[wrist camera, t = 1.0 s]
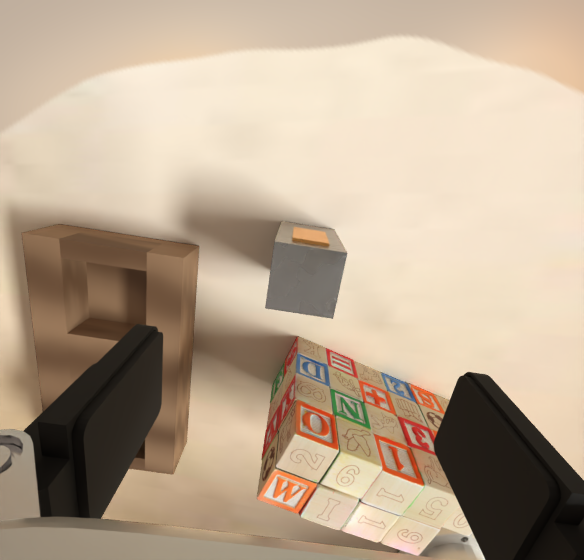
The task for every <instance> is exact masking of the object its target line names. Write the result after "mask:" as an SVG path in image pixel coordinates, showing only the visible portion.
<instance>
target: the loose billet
mask: <svg viewBox="0 0 584 560" xmlns="http://www.w3.org/2000/svg"><path fill="white" fill-rule="evenodd" d="M346 257H347V251H346V250H345V248H344V246H343V244H342V243H341V241H340V239H339V237H338V235H337V234H336V232H335V230H334V229H328V228H322V227H316V226H309V225H303V224H297V223H291V222H284V221H281V224H280V227H279V230H278V233H277V236H276V239H275V242H274V249H273V256H272V264H271V271H270V278H269V285H268V292H267V299H266V306H265V308H267V309H273V310H280V311H286V312H293V313H300V314H306V315H313V316H319V317H326V318H332V319H333V316H334V311H335V307H336V302H337V298H338V293H339V289H340V284H341V279H342V275H343V270H344V266H345V261H346Z"/></svg>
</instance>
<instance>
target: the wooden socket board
mask: <svg viewBox="0 0 584 560" xmlns="http://www.w3.org/2000/svg"><path fill="white" fill-rule="evenodd" d="M22 240H23V248H24V257H25V265H26V273H27V282H28V290H29V299H30V307H31V315H32V324H33V332H34V341H35V349H36V357H37V366H38V374H39V383H40V391H41V399H42V408H43V412H44V411H45V410H46V409H47V408H48V407H49V406H50V405H51V404H52V403H53V402H54V401H55V400H56V399H57V398H58V397H59V396H60V395H61V394H62V393H63V392H64V391H65V390H66V389H67V388H68V387H69V386H70V385H71V384H72V383H73V382H74V381H75V380H76V379H78V378H79V377H80V376H81V375H82V374H83V373H84V372H85V371H86V370H87V369H88V368H89V367H90V366H91V365H93V364H95V363H97V362H98V361H99V360H100V359H101V358H102V357H103V356H104V355H105V354H106V353H107V352H108V351H109V350H110V349H111V348H112V347H113V346H114V345H115V344H116V343H117V342H118V341H119V340H121V339H122V338H123V337H124V336H125V335H126V334H127V333H128V332H129V331H130V330H131V329H132V328H133V327H134V326H135V325H136V324H142V325H149V326H156V327H157V329H158V332H162V333H163V371H162V405H161V409H160V412H159V415H158V417H157V419H156V420H155V422H154V424H153V426H152V427H151V429H150V431H149V433H148V435H147V436H146V438H145V440H144V442H143V444H142V445H141V447H140V449H139V451H138V453H137V454H136V456H135V458H134V460H133V462H132V463H131V465H130V467H129V469H136V470H144V471H151V472H158V473H166V474H174V471H175V469H176V467H177V464H178V462H179V459H180V457H181V455H182V452H183V450H184V447H185V445H186V442H187V431H188V415H189V399H190V383H191V367H192V352H193V336H194V320H195V304H196V288H197V272H198V257H199V246H196V245H190V244H183V243H177V242H171V241H164V240H158V239H151V238H145V237H139V236H132V235H126V234H120V233H113V232H107V231H100V230H94V229H88V228H81V227H75V226H69V225H62V224H58V225H53V226H49V227H45V228H41V229H36V230H32V231H28V232H23V233H22Z"/></svg>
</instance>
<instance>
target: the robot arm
mask: <svg viewBox="0 0 584 560" xmlns="http://www.w3.org/2000/svg"><path fill="white" fill-rule="evenodd" d="M162 371H163V333H162V332H158V329H157V327H156V326H149V325H142V324H136V325H135V326H134V327H133V328H132V329H131V330H130V331H129V332H128V333H127V334H126V335H125V336H124V337H123V338H122V339H121V340H119V341H118V342H117V343H116V344H115V345H114V346H113V347H112V348H111V349H110V350H109V351H108V352H107V353H106V354H105V355H104V356H103V357H102V358H101V359H100V360H99V361H98V362H97V363H95V364H93V365H91V366H90V367H89V368H88V369H87V370H86V371H85V372H84V373H83V374H82V375H81V376H80V377H79V378H78V379H76V380H75V381H74V382H73V383H72V384H71V385H70V386H69V387H68V388H67V389H66V390H65V391H64V392H63V393H62V394H61V395H60V396H59V397H58V398H57V399H56V400H55V401H54V402H53V403H52V404H51V405H50V406H49V407H48V408H47V409H46V410H45V411H44V412H43V413H42V414H40V415H39V416H38V417H37V418H36V419H35V420H34V421H33V422H32V423H31V424H30V425H29V426H28V427H27V428H26V429H25V430H24V431H19V430H14V429H9V430H0V560H584V480H583V479H582V478H581V477H580V476H579V475H578V474H577V473H576V472H575V470H574V469H573V468H572V467H571V466H570V465H569V464H568V463H567V462H566V460H565V459H564V458H563V457H562V456H561V455H560V454H559V453H558V452H557V450H556V449H555V448H554V447H553V446H552V445H551V444H550V443H549V442H548V441H547V439H546V438H545V437H544V436H543V435H542V434H541V433H540V432H539V431H538V429H537V428H536V427H535V426H534V425H533V424H532V423H531V422H530V421H529V419H528V418H527V417H526V416H525V415H524V414H523V413H522V412H521V411H520V409H519V408H518V407H517V406H516V405H515V404H514V403H513V402H512V401H511V399H510V398H509V397H508V396H507V395H506V394H505V393H504V392H503V391H502V390H501V388H500V387H499V386H498V385H497V384H496V383H495V382H494V381H493V380H492V378H491V377H490V376H488V375H485V374H479V373H472V372H467V373H466V374H464V376H460V377H459V379H458V381H457V383H456V386H455V389H454V391H453V394H452V396H451V399H450V401H449V404H448V406H447V409H446V411H445V414H444V417H443V419H442V422H441V424H440V427H439V429H438V432H437V434H436V437H435V439H434V452H435V454H436V456H437V458H438V461H439V463H440V465H441V467H442V469H443V471H444V473H445V475H446V478H447V480H448V482H449V484H450V486H451V488H452V490H453V492H454V494H455V497H456V499H457V501H458V503H459V505H460V507H461V509H462V511H463V513H464V516H465V518H466V520H467V522H468V524H469V526H470V528H471V530H472V532H473V535H474V537H475V538H473V537H471V536H465V535H462V534H460V533H457V532H454V531H452V530H449V529H446V528H443V527H441V529H440V531H439V532H438V533H437V535H436V536H435V537H434V538H433V539H432V540H431V542H430V543H429V544H428V545H427V546H426V548H425V549H424V550H423V551H422V552H421V553H420V554H419V555H418V556H416V555H413V554H410V553H408V552H404V551H401V550H399V552H398V553H393V552H385V551H377V550H369V549H361V548H353V547H345V546H337V545H328V544H320V543H312V542H304V541H296V540H288V539H280V538H271V537H263V536H254V535H246V534H237V533H229V532H220V531H212V530H203V529H195V528H186V527H178V526H169V525H159V524H148V523H138V522H128V521H118V520H108V519H101V517H102V515H103V514H104V512H105V510H106V508H107V506H108V505H109V503H110V501H111V499H112V498H113V496H114V494H115V492H116V490H117V489H118V487H119V485H120V483H121V481H122V480H123V478H124V476H125V474H126V472H127V471H128V469H129V467H130V465H131V463H132V462H133V460H134V458H135V456H136V454H137V453H138V451H139V449H140V447H141V445H142V444H143V442H144V440H145V438H146V436H147V435H148V433H149V431H150V429H151V427H152V426H153V424H154V422H155V420H156V419H157V417H158V415H159V412H160V409H161V405H162Z"/></svg>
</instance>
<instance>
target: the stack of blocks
mask: <svg viewBox="0 0 584 560" xmlns="http://www.w3.org/2000/svg"><path fill="white" fill-rule="evenodd" d="M448 404H449V400H447V399H444V398H442V397H439V396H437V395H434V394H432V393H430V392H428V391H426V390H423V389H421V388H419V387H416V386H414V385H412V384H407V383H405V382H403V381H401V380H398V379H396V378H393V377H391V376H389V375H386V374H384V373H380V372H379V371H376V370H374V369H372V368H369V367H367V366H365V365H362V364H360V363H357V362H355V361H353V360H352V359H350V358H348V357H345V356H343V355H340V354H338V353H336V352H334V351H331V350H329V349H327V348H324V347H322V346H320V345H318V344H315V343H313V342H311V341H308V340H306V339H304V338H301V337H297V338H296V340H295V342H294V344H293V346H292V348H291V350H290V352H289V354H288V356H287V358H286V359H285V362H284V364H283V366H282V368H281V370H280V372H279V374H278V376H277V377H276V379H275V381H274V383H273V386H272V393H271V401H270V409H269V415H268V422H267V429H266V433H265V439H264V446H263V453H262V466H261V473H260V479H259V486H258V493H257V499H258V500H260V501H263V502H266V503H269V504H271V505H274V506H277V507H280V508H282V509H285V510H288V511H291V512H294V513H299V514H300V517H301V518H303V519H306V520H309V521H312V522H315V523H318V524H320V525H323V526H326V527H329V528H332V529H335V530H340V529H341V530H342V531H343V532H346V533H349V534H352V535H355V536H358V537H361V538H364V539H367V540H370V541H373V542H381V543H382V544H384V545H387V546H390V547H392V548H395V549H398V550H401V551H404V552H408V553H410V554H413V555H416V556H418V555H419V554H420V553H421V552H422V551H423V550H424V549H425V548H426V546H427V545H428V544H429V543H430V542H431V540H432V539H433V538H434V537H435V536H436V535H437V533H438V532H439V531H440V529H441V527H443V528H446V529H449V530H452V531H454V532H457V533H460V534H462V535H465V536H471V537H473V538H475V537H474V535H473V532H472V530H471V528H470V526H469V524H468V522H467V520H466V518H465V516H464V513H463V511H462V509H461V507H460V505H459V503H458V501H457V499H456V497H455V494H454V492H453V490H452V488H451V486H450V484H449V482H448V480H447V478H446V475H445V473H444V471H443V469H442V467H441V465H440V463H439V461H438V458H437V456H436V454H435V452H434V439H435V437H436V434H437V432H438V429H439V427H440V424H441V422H442V419H443V417H444V414H445V411H446V409H447V406H448Z"/></svg>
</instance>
